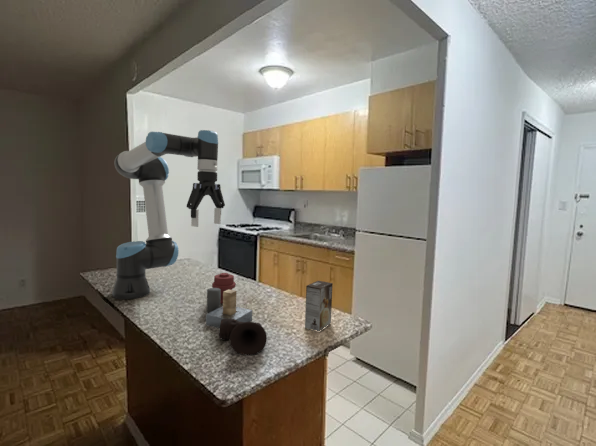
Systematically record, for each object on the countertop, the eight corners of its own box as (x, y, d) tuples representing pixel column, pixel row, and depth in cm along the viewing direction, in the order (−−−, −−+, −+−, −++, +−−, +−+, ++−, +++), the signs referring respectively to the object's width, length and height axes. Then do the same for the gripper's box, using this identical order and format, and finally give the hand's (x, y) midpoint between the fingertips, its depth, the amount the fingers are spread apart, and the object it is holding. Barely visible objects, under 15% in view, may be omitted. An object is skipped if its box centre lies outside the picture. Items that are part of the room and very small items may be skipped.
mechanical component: (238, 299, 151) (229, 306, 141) (217, 296, 153) (207, 303, 143) (239, 272, 149) (230, 277, 140) (218, 270, 151) (208, 275, 142)
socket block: (205, 325, 121) (206, 314, 120) (225, 314, 132) (226, 304, 131) (233, 332, 116) (233, 320, 116) (252, 320, 127) (252, 310, 127)
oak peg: (222, 323, 123) (223, 291, 122) (228, 320, 126) (228, 289, 125) (230, 325, 121) (231, 293, 120) (235, 322, 124) (236, 290, 123)
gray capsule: (204, 312, 133) (204, 290, 132) (212, 308, 138) (212, 287, 137) (214, 315, 131) (215, 292, 130) (222, 310, 135) (223, 289, 135)
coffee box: (316, 320, 129) (318, 279, 128) (331, 324, 126) (333, 282, 124) (304, 328, 121) (305, 285, 120) (319, 333, 118) (321, 288, 116)
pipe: (222, 311, 115) (217, 320, 100) (266, 314, 116) (268, 323, 101) (219, 340, 114) (214, 354, 99) (264, 342, 115) (265, 356, 101)
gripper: (192, 169, 119) (192, 228, 121) (234, 173, 141) (232, 223, 143) (176, 168, 122) (176, 226, 124) (219, 173, 144) (218, 221, 146)
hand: (206, 225), depth 134 cm, fingers open, 13 cm apart
